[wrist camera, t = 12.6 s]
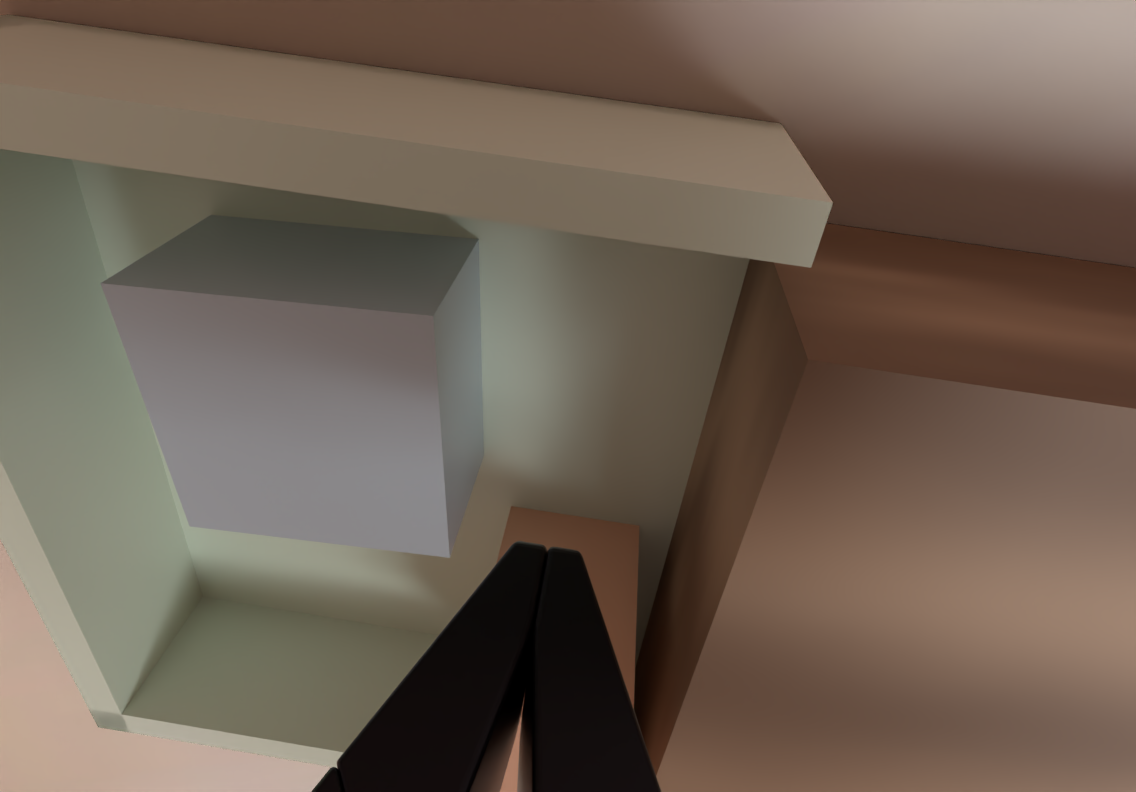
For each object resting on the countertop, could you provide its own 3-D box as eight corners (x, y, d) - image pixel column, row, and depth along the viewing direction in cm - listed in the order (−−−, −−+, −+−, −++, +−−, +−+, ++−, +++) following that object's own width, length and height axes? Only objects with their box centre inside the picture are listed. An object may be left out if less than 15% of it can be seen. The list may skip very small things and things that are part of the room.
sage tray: (631, 668, 20) (625, 817, 16) (191, 596, 20) (98, 726, 17) (780, 122, 11) (833, 203, 8) (7, 14, 11) (-257, 46, 8)
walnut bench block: (1061, 728, 19) (1174, 949, 15) (634, 658, 19) (627, 855, 15) (1460, 315, 12) (1907, 525, 7) (756, 212, 12) (808, 359, 8)
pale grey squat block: (189, 526, 13) (265, 431, 15) (449, 558, 13) (484, 455, 15) (99, 283, 10) (211, 214, 12) (432, 316, 10) (479, 239, 12)
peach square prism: (596, 862, 14) (456, 838, 14) (610, 656, 18) (501, 638, 19) (632, 735, 12) (459, 707, 12) (639, 525, 16) (511, 505, 16)
